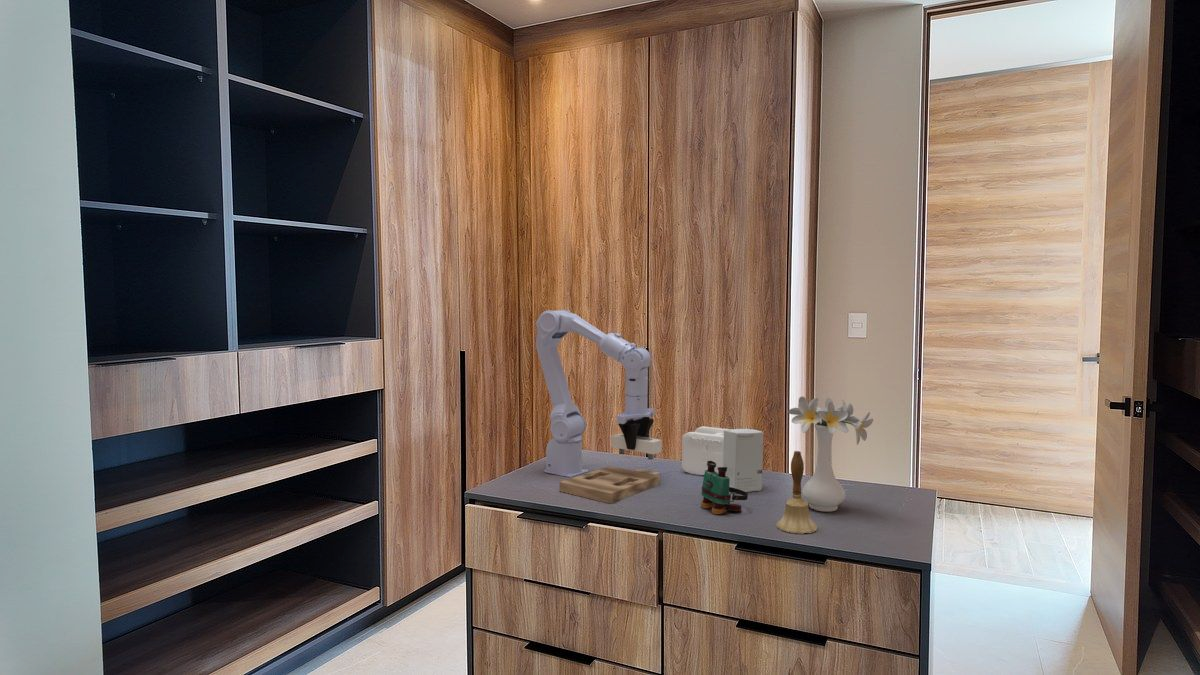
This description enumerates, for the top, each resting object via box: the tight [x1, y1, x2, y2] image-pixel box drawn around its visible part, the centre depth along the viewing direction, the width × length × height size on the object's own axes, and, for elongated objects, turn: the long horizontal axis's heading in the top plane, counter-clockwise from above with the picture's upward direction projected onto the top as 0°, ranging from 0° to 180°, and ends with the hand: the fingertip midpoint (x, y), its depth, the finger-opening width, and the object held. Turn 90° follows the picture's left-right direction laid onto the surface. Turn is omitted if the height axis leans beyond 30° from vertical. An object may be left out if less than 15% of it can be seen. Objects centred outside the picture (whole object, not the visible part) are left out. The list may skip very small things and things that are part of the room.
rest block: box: [633, 468, 661, 480], centre depth 184 cm, size 6×3×2 cm, turn 52°
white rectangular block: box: [610, 432, 663, 460], centre depth 181 cm, size 13×4×5 cm, turn 53°
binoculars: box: [700, 461, 749, 515], centre depth 159 cm, size 9×11×10 cm
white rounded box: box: [681, 425, 730, 476], centre depth 190 cm, size 15×11×12 cm
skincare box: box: [723, 428, 764, 495], centre depth 175 cm, size 8×6×15 cm
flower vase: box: [787, 396, 874, 513], centre depth 159 cm, size 13×18×25 cm
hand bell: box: [775, 450, 818, 535], centre depth 146 cm, size 8×8×16 cm
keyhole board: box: [559, 466, 660, 504], centre depth 175 cm, size 20×16×2 cm
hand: (635, 447), depth 181 cm, fingers closed on white rectangular block, 4 cm apart
